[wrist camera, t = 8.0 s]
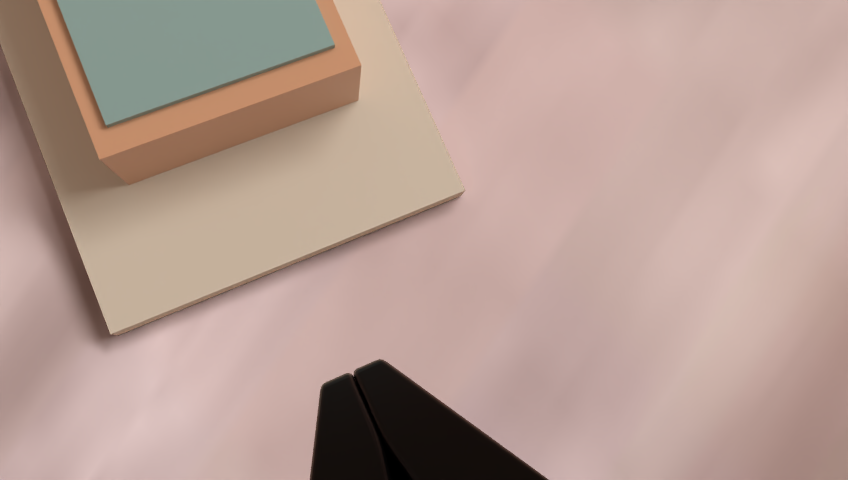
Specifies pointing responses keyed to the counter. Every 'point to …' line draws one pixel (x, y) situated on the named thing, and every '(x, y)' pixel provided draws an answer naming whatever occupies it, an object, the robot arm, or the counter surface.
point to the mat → (233, 178)
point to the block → (198, 73)
